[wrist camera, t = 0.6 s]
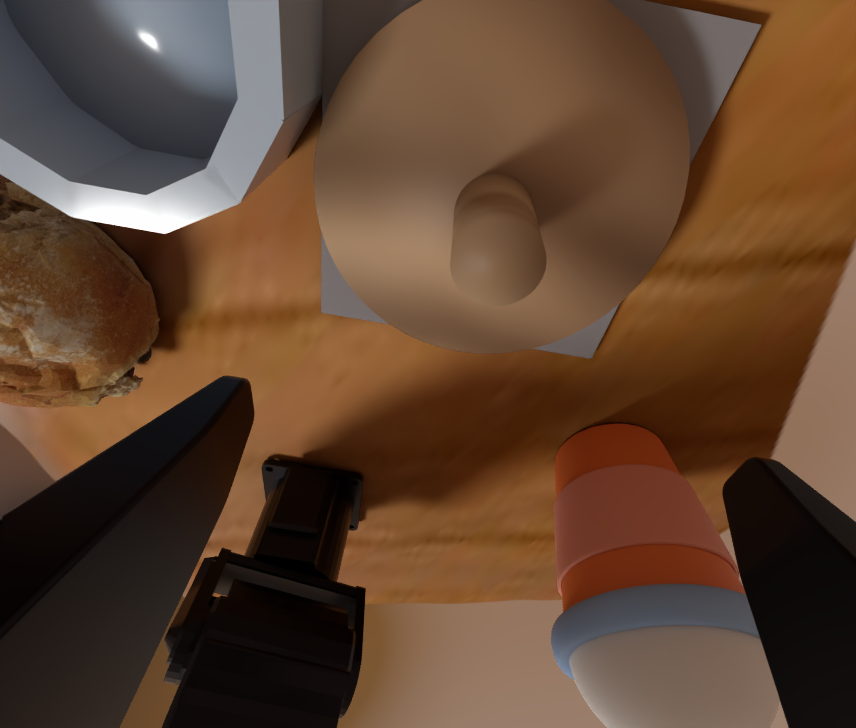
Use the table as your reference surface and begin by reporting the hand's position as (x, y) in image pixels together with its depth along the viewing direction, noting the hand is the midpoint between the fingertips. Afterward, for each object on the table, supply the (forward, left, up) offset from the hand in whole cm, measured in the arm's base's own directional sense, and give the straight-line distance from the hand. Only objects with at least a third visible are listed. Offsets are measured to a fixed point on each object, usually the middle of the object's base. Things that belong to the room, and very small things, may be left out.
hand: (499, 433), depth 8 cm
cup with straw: (-14, -11, -12) cm, 21 cm away
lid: (0, 0, -12) cm, 12 cm away
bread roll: (-8, +19, -13) cm, 24 cm away
